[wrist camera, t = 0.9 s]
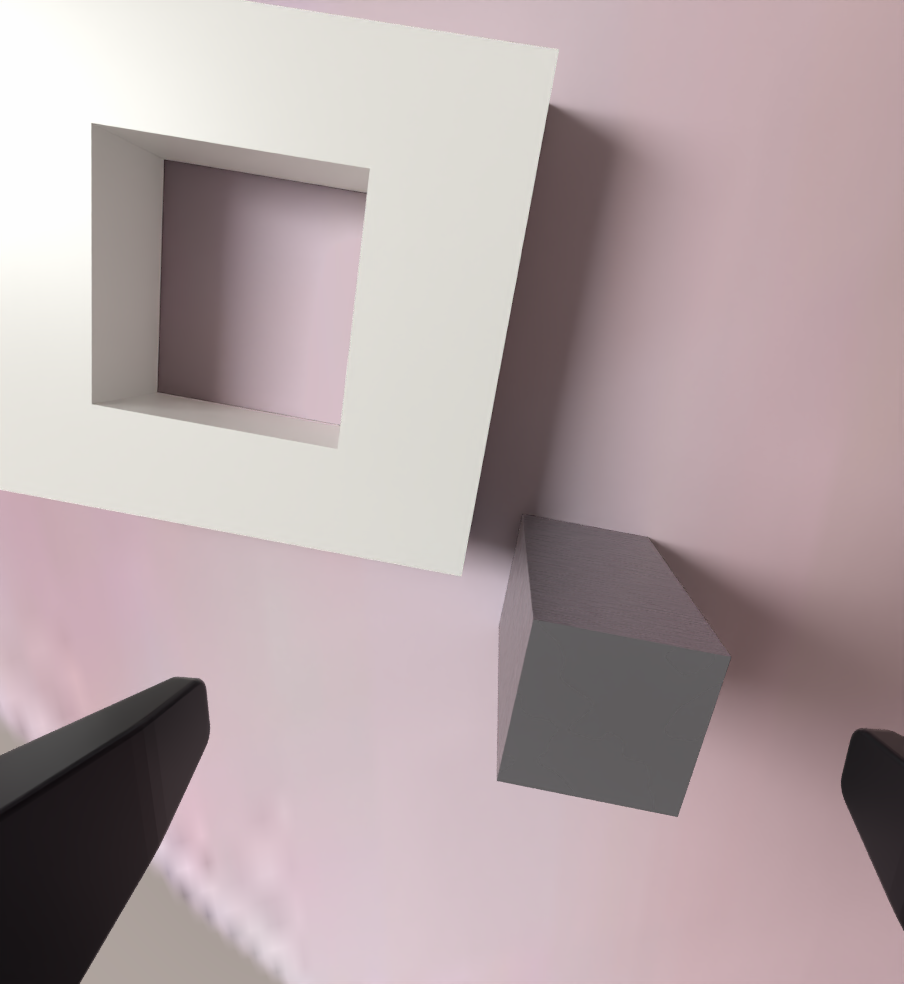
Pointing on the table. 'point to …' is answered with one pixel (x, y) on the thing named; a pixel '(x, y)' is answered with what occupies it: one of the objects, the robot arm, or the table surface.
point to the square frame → (280, 154)
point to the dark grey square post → (602, 669)
